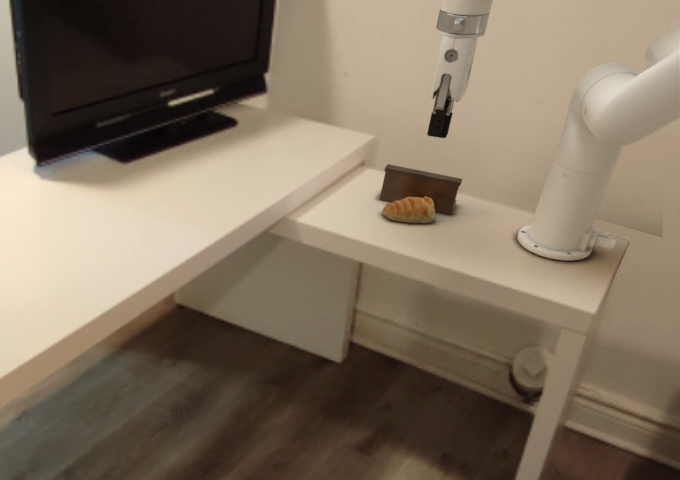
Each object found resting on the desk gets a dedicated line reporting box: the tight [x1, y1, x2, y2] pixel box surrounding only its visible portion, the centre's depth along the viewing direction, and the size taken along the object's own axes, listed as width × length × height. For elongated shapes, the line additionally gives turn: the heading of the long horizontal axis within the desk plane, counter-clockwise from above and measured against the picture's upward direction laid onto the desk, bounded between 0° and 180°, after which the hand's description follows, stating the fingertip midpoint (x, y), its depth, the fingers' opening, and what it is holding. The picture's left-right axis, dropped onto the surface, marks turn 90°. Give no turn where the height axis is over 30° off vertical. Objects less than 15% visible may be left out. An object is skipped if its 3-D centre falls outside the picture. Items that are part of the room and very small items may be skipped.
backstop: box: [379, 163, 463, 215], centre depth 156 cm, size 14×5×7 cm, turn 62°
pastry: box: [382, 196, 436, 224], centre depth 152 cm, size 9×7×4 cm
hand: (437, 135), depth 137 cm, fingers closed
